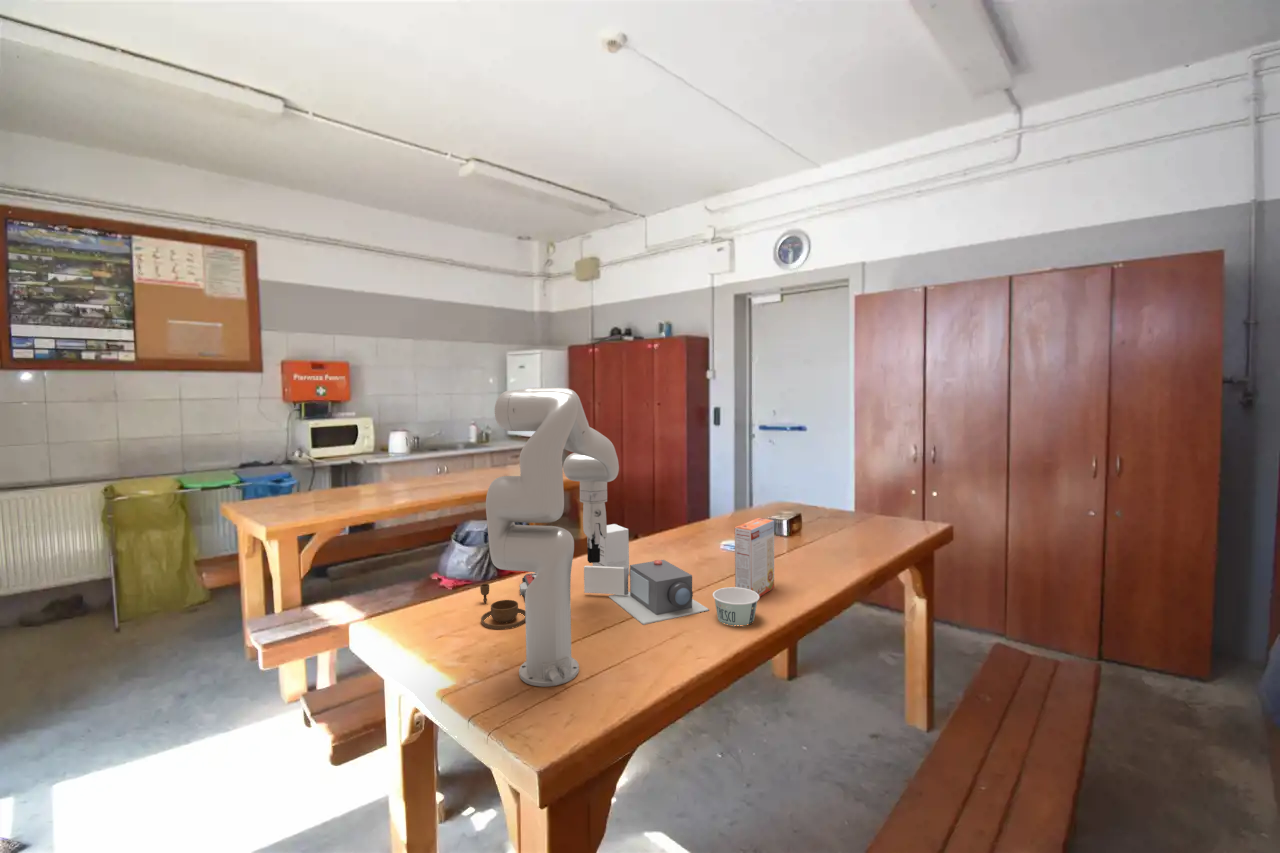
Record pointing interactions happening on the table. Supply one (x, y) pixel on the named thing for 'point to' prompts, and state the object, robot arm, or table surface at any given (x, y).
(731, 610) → the food container
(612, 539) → the supplement box
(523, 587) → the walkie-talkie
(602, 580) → the side door
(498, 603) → the place setting
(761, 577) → the cracker box
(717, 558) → the table surface
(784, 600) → the table surface
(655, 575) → the camera box
